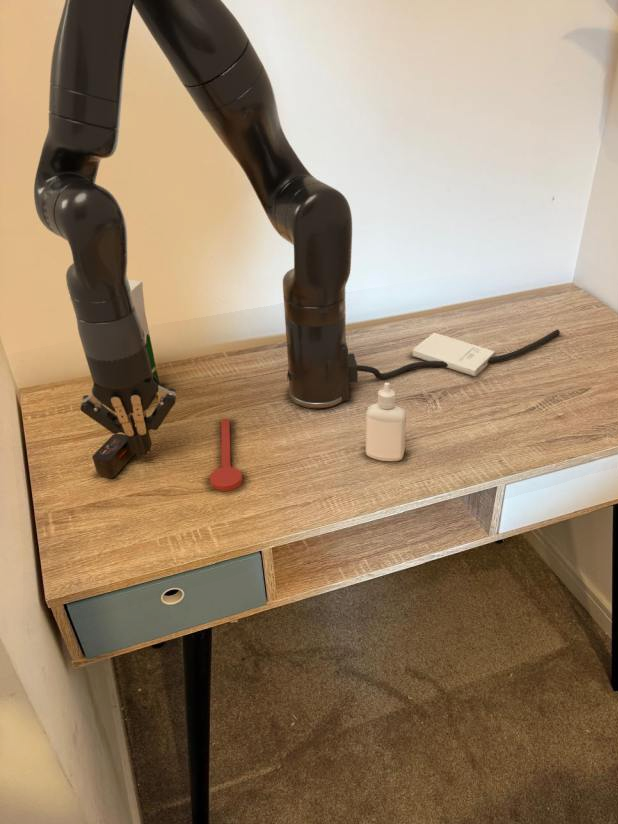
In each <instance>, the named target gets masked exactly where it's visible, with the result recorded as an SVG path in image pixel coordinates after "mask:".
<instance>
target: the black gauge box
mask: <svg viewBox="0 0 618 824" xmlns="http://www.w3.org/2000/svg"><path fill="white" fill-rule="evenodd" d="M134 455H135V453H132V451H131V450H130V447H129V443H128V439H127V436H126V435H125V434H124V433H117V434H114V433H113V434H112V435H111V436H110V437H109V438H108V439H107V440H106V441H105V443H103V445H101V447H100V448H99V449H97V451H96V452H95V453H94V454H93V455H92V456H91V457H92V461H93V465H94V468H95V472H96V474H97V475H98V476H100V477H105V478H111V479H112V478H114V477H116V476H117V475H118V474H119V472H120V471H121V470H122V469H123V468H124V467H125V465H126V464H127V463H128V462H129V461H130V460H131V459H132V458H133V456H134Z"/></svg>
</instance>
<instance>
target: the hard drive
mask: <svg viewBox="0 0 618 824" xmlns="http://www.w3.org/2000/svg"><path fill="white" fill-rule="evenodd" d="M496 353H497V351H496V350H492V349H489V348H486V347H483V346H478V345H476V344H472V343H471V342H470V343H469V342H466V341H463V340H460V339H458V338H454V337H451V336H447V335H444V334H441V333H438V332H433V333H431V334H430V335H429V336H428V337H426V338H425V339H424V340H422V341H421V342H420V343H419V344H417V345H416V346H415V347H414V348H413V349H412V353H411V355H412V357H413V358H416V359H420V360H423V361H443V362H446V363H447V364H448V366H447V367H446V369H450V370H453V371H457V372H459V373H462V374H465V375H469V376H472V377H476V376H478V375H479V374H480V373H481V372H482V371H483V370H484V369H486V367H487V366H489V364H488V363H487V362H488V360H489V358H491V357H496Z"/></svg>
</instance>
